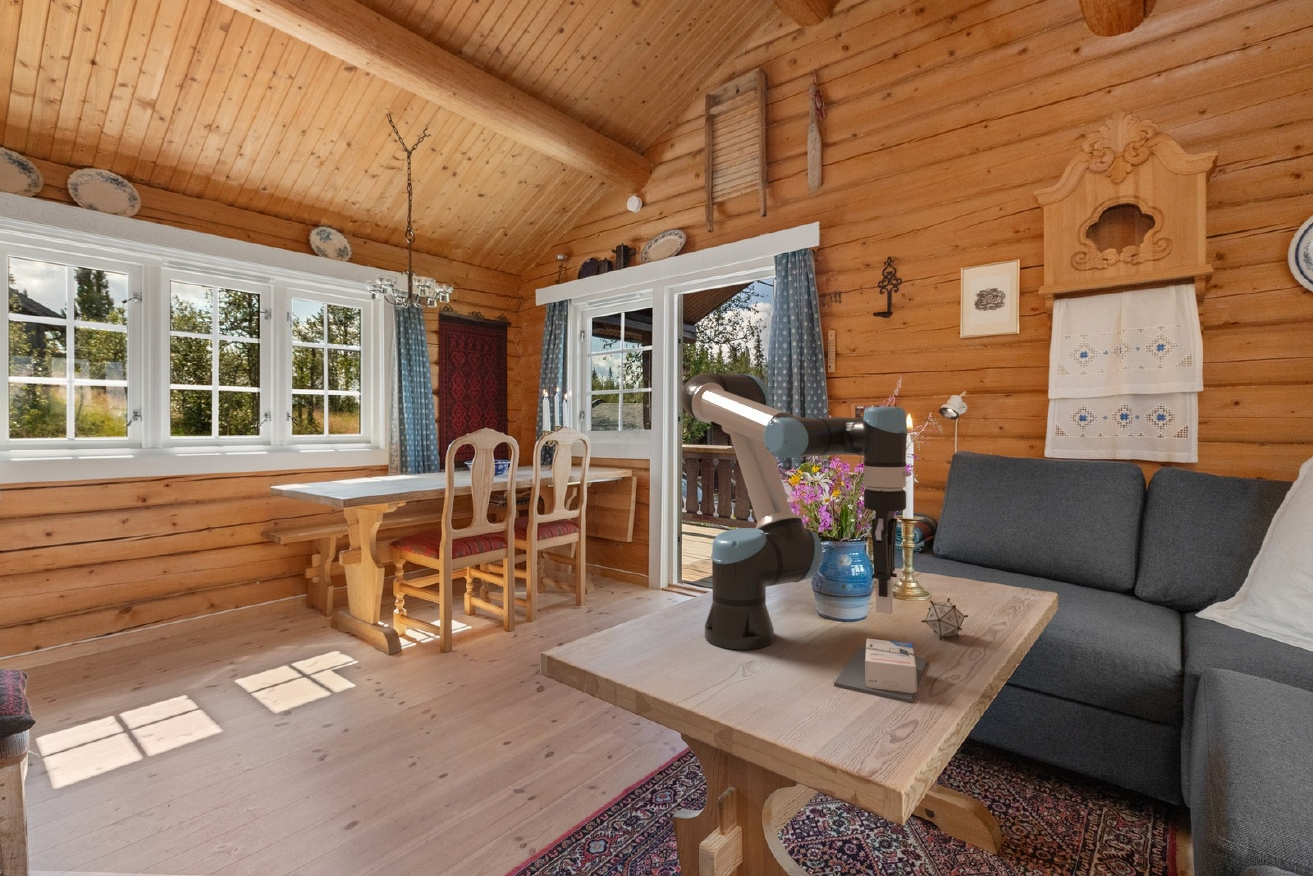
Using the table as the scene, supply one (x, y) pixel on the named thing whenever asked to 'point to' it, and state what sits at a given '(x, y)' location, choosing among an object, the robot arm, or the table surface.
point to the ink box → (890, 666)
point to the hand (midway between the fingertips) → (884, 611)
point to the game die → (944, 618)
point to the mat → (855, 680)
